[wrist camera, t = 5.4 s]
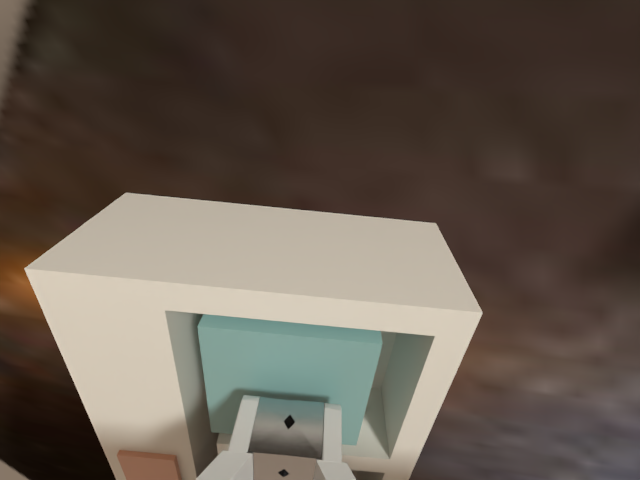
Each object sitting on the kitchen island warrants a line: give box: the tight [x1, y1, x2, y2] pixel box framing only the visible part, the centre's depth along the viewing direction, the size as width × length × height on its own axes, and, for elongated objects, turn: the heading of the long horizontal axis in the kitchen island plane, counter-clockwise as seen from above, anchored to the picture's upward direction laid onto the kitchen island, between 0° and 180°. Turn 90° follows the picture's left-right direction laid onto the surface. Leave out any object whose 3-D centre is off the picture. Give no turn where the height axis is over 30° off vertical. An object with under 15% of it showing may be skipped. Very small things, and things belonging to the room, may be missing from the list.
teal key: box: [197, 314, 383, 446], centre depth 12 cm, size 5×5×3 cm
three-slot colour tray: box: [24, 193, 483, 480], centre depth 17 cm, size 24×12×5 cm, turn 175°
